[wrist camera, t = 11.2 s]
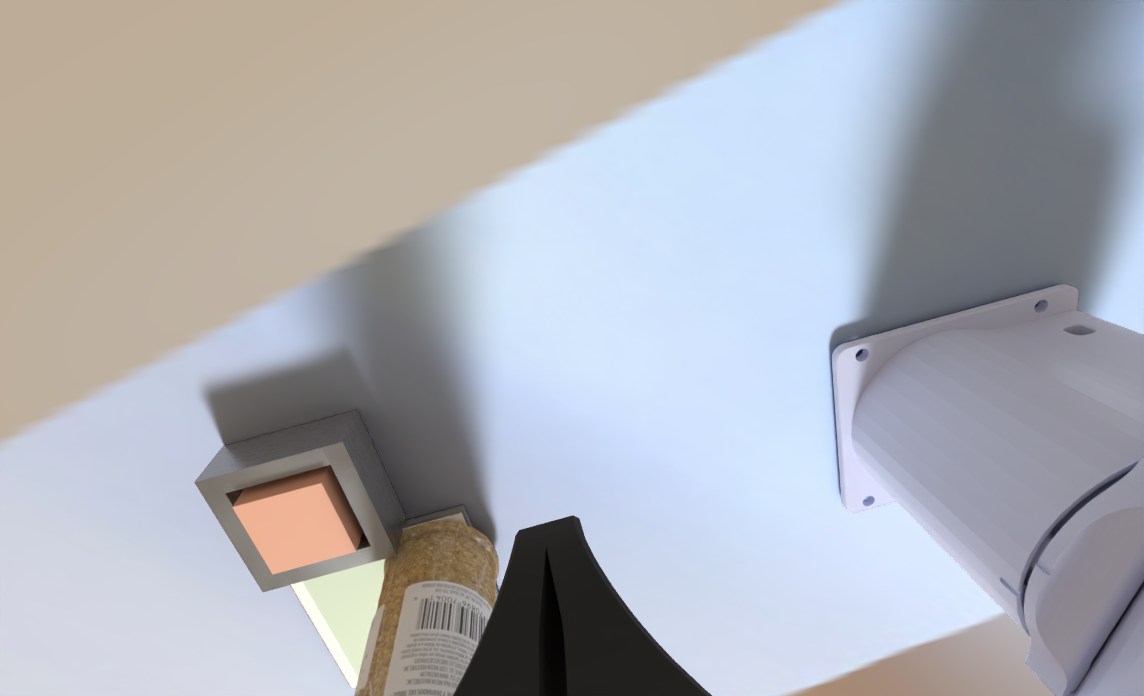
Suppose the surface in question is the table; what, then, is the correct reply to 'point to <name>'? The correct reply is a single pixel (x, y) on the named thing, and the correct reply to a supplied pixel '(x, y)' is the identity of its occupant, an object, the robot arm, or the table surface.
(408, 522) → the picture board
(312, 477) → the button
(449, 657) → the sprinkles bottle
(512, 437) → the table surface
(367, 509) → the button housing
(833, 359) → the robot arm
